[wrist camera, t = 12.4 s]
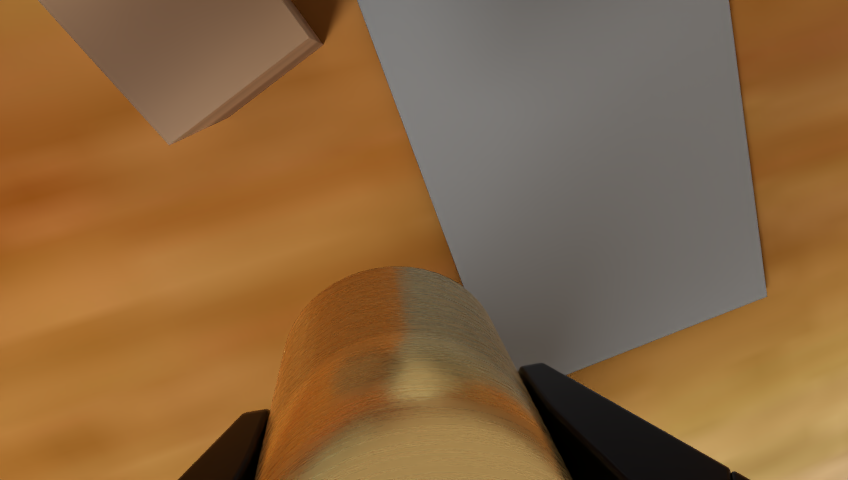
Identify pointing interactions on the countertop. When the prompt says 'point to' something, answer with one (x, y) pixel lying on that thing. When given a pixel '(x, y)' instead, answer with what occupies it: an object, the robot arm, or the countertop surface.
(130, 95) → the walnut block
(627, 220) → the lane mat
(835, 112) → the countertop surface
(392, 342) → the small wooden cylinder
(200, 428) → the countertop surface
